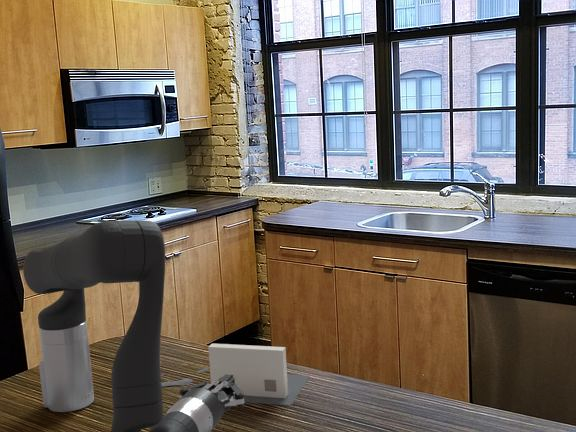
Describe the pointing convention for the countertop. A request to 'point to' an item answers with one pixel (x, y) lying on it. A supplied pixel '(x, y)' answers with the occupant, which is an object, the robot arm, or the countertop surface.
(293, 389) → the rubber mat
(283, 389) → the flat white box
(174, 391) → the countertop surface
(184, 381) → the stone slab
